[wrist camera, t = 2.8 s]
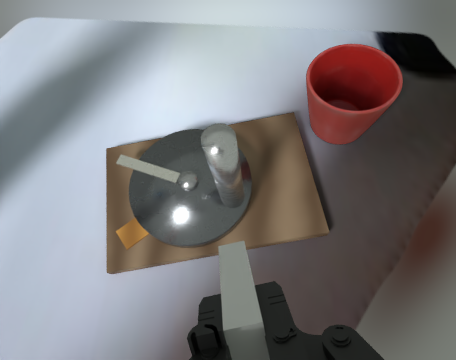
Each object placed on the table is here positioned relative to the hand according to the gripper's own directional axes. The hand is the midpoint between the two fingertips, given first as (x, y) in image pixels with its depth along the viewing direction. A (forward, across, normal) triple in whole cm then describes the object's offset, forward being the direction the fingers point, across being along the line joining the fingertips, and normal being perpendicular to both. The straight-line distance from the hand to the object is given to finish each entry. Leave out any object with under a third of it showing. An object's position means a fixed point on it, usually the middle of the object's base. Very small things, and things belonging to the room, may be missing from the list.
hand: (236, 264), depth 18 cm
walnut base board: (+26, -2, -4) cm, 26 cm away
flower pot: (+30, +18, +1) cm, 35 cm away
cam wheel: (+25, -5, -2) cm, 26 cm away
